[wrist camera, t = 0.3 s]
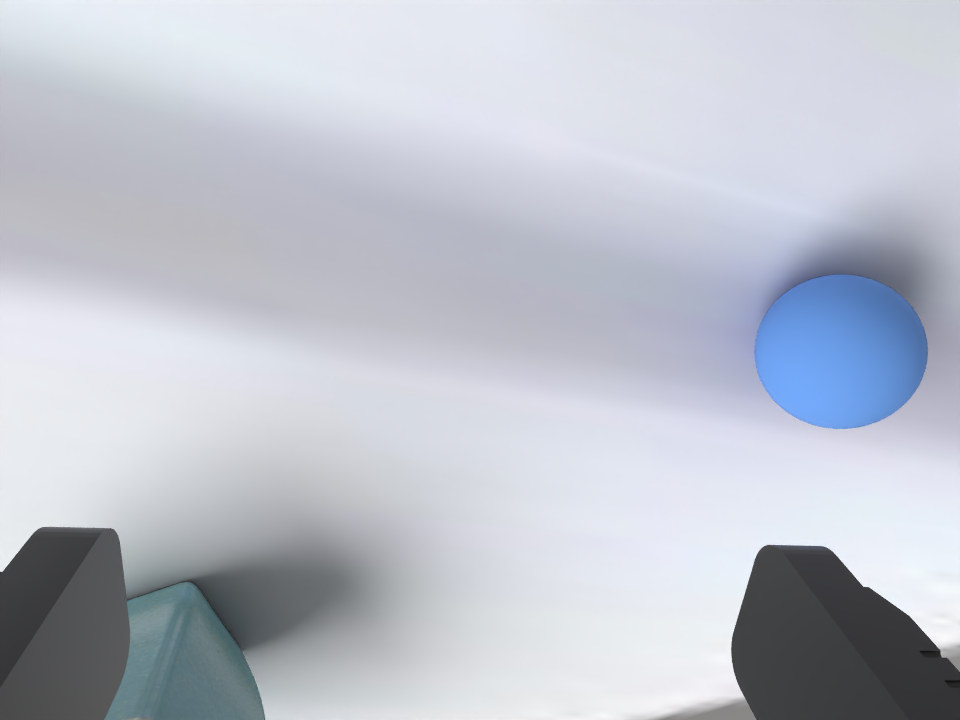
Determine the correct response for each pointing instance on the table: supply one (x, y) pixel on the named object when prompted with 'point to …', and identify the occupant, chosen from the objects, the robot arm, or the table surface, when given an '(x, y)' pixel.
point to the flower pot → (183, 663)
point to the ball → (841, 351)
